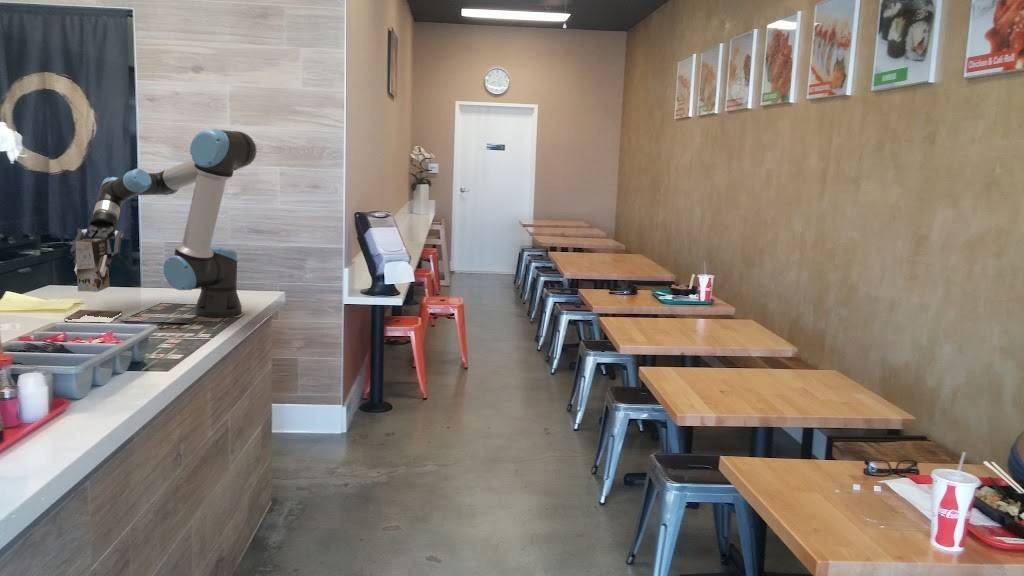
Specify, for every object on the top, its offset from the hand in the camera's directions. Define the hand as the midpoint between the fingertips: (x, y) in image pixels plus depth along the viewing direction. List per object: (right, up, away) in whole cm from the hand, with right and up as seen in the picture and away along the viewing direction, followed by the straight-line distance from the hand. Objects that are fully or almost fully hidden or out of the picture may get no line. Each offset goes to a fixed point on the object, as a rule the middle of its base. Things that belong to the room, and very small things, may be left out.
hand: (89, 273), depth 239 cm
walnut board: (-2, -14, +6) cm, 16 cm away
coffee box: (-1, -5, +4) cm, 7 cm away
